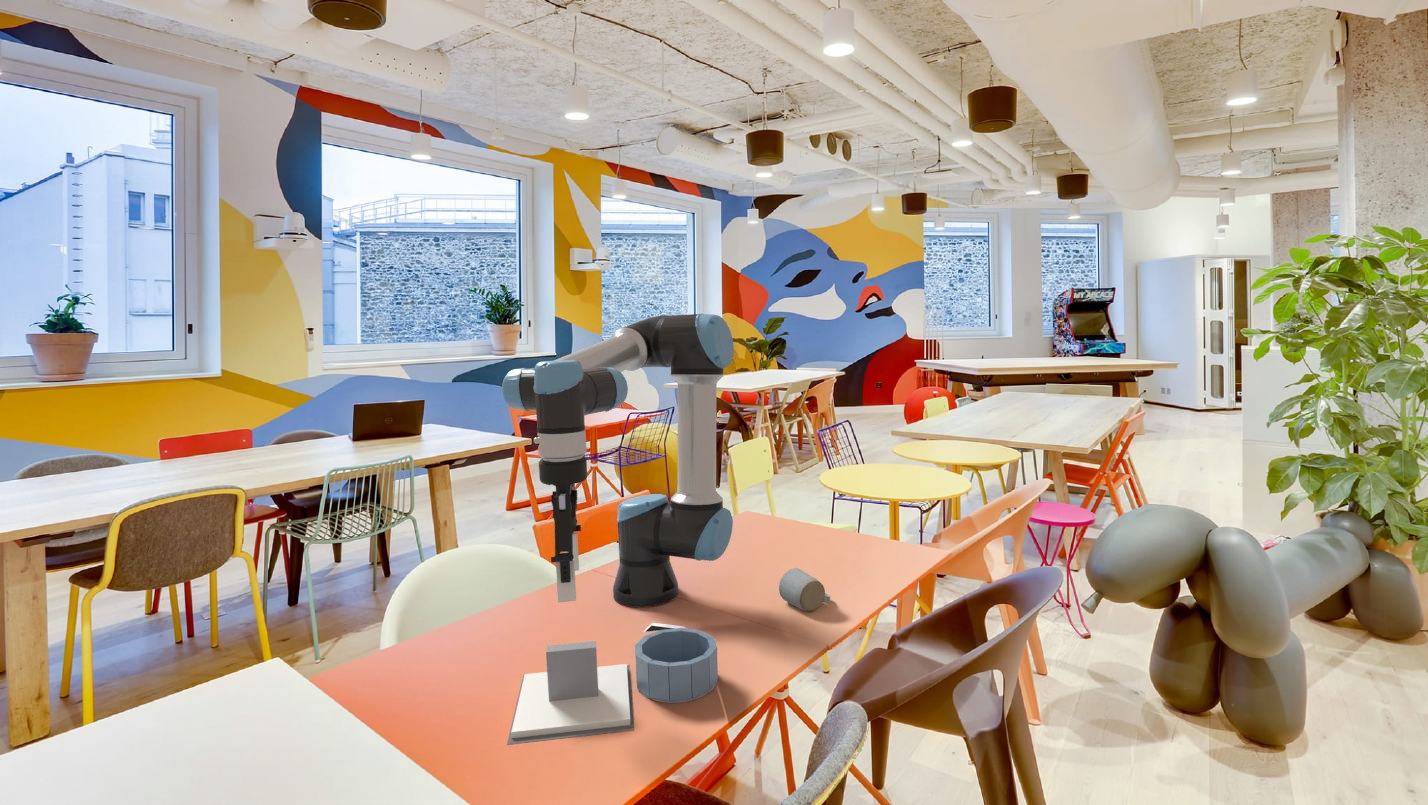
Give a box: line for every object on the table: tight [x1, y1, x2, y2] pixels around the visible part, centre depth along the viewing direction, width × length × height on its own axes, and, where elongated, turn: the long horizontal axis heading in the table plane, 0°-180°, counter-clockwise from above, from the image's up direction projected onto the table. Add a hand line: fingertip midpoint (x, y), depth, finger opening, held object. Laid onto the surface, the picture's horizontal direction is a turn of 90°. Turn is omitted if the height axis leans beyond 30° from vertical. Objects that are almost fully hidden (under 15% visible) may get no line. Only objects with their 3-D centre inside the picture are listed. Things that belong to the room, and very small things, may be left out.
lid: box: [511, 640, 630, 738], centre depth 116 cm, size 18×18×10 cm
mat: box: [506, 664, 635, 746], centre depth 116 cm, size 21×19×1 cm
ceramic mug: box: [778, 567, 831, 613], centre depth 154 cm, size 11×8×8 cm
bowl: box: [634, 628, 719, 704], centre depth 122 cm, size 14×14×7 cm
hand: (569, 584), depth 114 cm, fingers open, 13 cm apart
